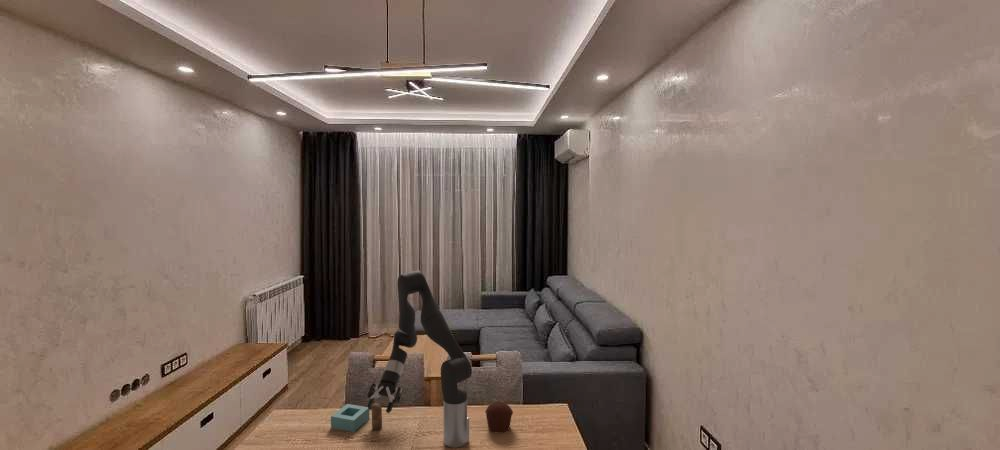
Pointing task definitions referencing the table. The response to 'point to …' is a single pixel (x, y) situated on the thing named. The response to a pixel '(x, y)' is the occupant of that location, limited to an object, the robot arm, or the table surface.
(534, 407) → the table surface
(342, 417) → the socket block
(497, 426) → the muffin
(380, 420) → the peg
